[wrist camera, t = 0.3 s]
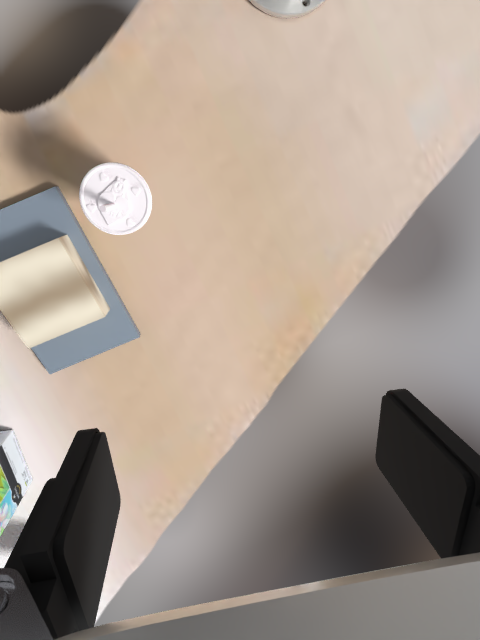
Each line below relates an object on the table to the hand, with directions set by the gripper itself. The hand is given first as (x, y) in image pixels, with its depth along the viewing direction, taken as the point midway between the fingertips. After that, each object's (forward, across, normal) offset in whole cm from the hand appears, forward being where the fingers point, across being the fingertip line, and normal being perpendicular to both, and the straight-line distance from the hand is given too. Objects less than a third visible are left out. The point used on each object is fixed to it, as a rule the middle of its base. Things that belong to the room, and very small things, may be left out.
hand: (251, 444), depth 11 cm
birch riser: (+35, +19, +2) cm, 40 cm away
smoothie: (+35, +8, -8) cm, 37 cm away
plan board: (+35, +19, +2) cm, 40 cm away
